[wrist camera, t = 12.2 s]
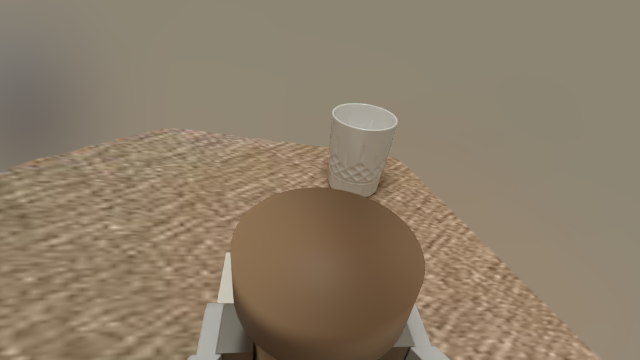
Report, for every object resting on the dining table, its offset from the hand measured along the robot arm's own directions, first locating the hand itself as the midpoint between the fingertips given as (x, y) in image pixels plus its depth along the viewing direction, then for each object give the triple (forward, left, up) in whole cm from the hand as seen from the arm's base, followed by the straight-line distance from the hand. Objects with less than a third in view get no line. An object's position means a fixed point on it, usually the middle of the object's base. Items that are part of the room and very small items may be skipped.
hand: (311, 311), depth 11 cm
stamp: (0, -1, -6) cm, 6 cm away
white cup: (+9, +31, -17) cm, 36 cm away
